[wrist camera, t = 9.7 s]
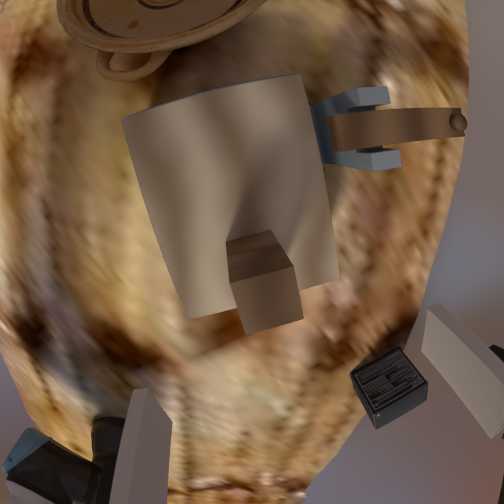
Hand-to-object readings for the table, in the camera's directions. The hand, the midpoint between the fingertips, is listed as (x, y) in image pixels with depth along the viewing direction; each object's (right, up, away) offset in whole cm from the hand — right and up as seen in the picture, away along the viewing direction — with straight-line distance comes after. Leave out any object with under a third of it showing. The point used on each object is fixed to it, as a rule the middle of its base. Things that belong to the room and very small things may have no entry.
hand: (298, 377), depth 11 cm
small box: (+21, -16, +35) cm, 44 cm away
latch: (+12, +17, +11) cm, 23 cm away
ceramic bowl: (-12, +37, +11) cm, 40 cm away
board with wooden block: (-3, +10, +13) cm, 17 cm away
